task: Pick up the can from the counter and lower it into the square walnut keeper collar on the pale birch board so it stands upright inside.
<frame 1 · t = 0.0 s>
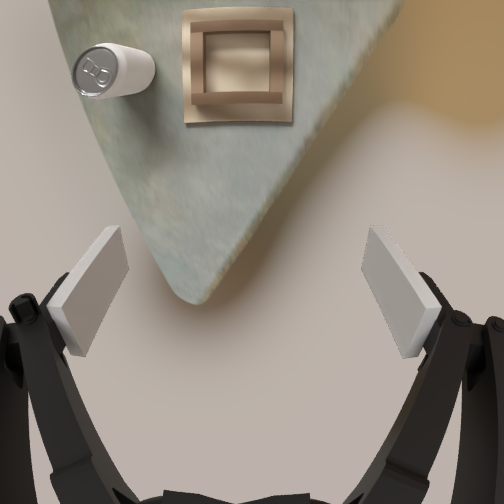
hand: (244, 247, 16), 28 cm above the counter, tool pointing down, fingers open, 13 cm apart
can: (134, 71, 34), on the counter
keeper board: (237, 62, 34), on the counter
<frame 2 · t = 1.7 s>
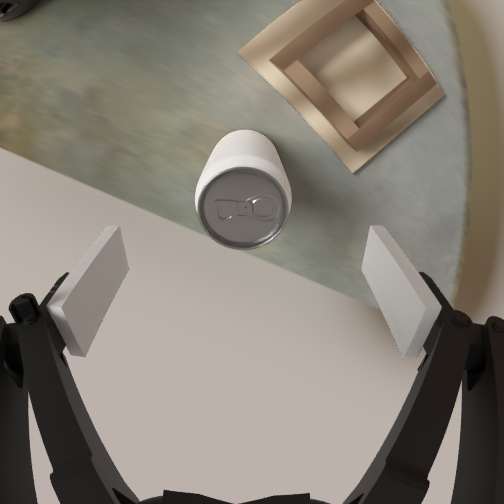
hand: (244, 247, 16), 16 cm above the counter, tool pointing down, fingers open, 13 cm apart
can: (245, 160, 29), on the counter
keeper board: (351, 67, 24), on the counter
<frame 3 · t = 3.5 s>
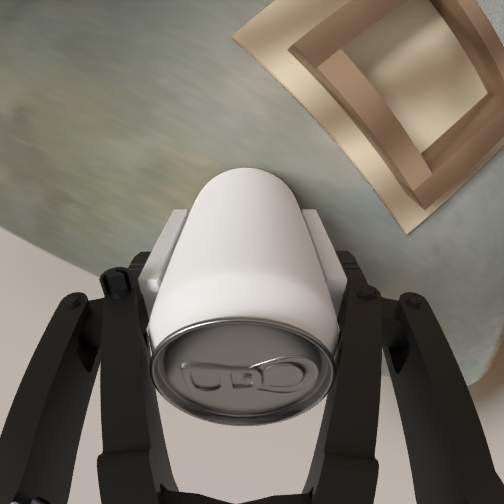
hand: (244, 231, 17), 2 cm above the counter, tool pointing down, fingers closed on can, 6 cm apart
can: (246, 215, 19), on the counter, touching gripper
keeper board: (414, 70, 14), on the counter
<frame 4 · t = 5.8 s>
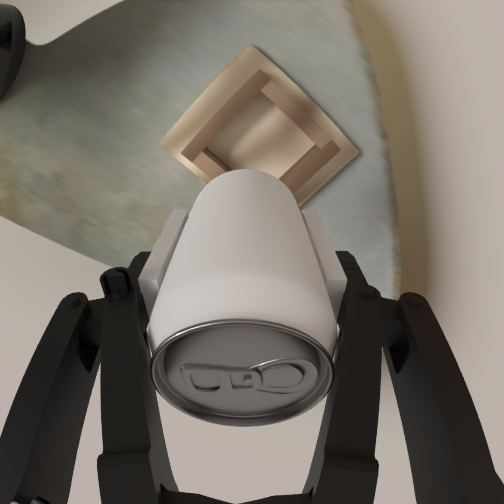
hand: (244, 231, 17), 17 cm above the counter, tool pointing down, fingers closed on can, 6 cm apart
can: (245, 216, 19), point 15 cm above the counter, touching gripper
keeper board: (260, 142, 31), on the counter
when the fingers open (5 cm above the counter, at t = 8.1 s): can drops 2 cm, resting on keeper board.
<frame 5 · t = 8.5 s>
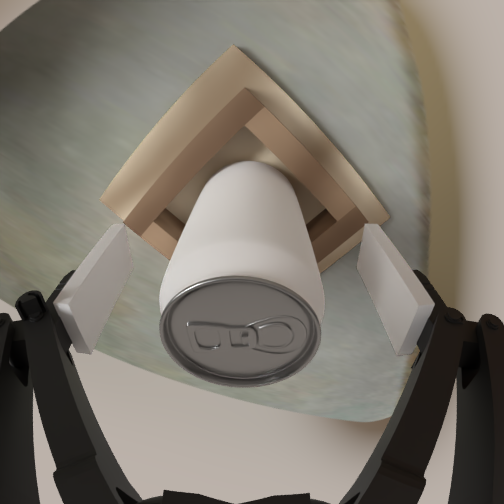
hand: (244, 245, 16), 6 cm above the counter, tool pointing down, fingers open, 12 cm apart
can: (248, 204, 21), point 1 cm above the counter, touching keeper board
keeper board: (245, 200, 21), on the counter
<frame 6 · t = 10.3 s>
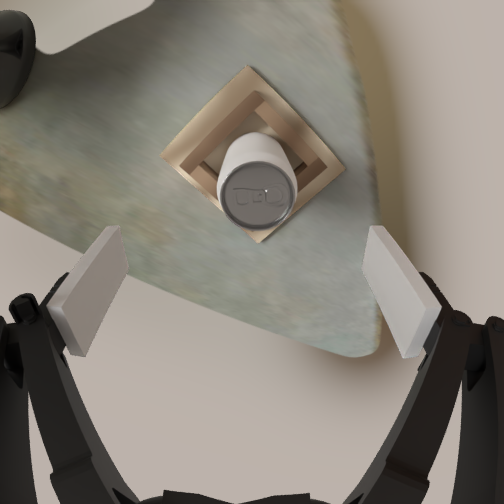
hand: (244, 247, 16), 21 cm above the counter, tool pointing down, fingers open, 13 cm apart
can: (255, 159, 33), point 1 cm above the counter, touching keeper board
keeper board: (253, 157, 34), on the counter
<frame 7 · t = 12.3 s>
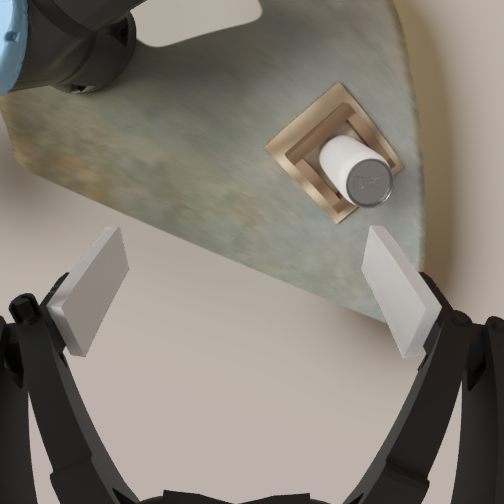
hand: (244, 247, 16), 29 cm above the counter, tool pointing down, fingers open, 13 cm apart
can: (340, 156, 41), point 1 cm above the counter, touching keeper board
keeper board: (337, 154, 41), on the counter
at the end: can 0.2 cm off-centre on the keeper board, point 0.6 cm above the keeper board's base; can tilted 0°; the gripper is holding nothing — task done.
